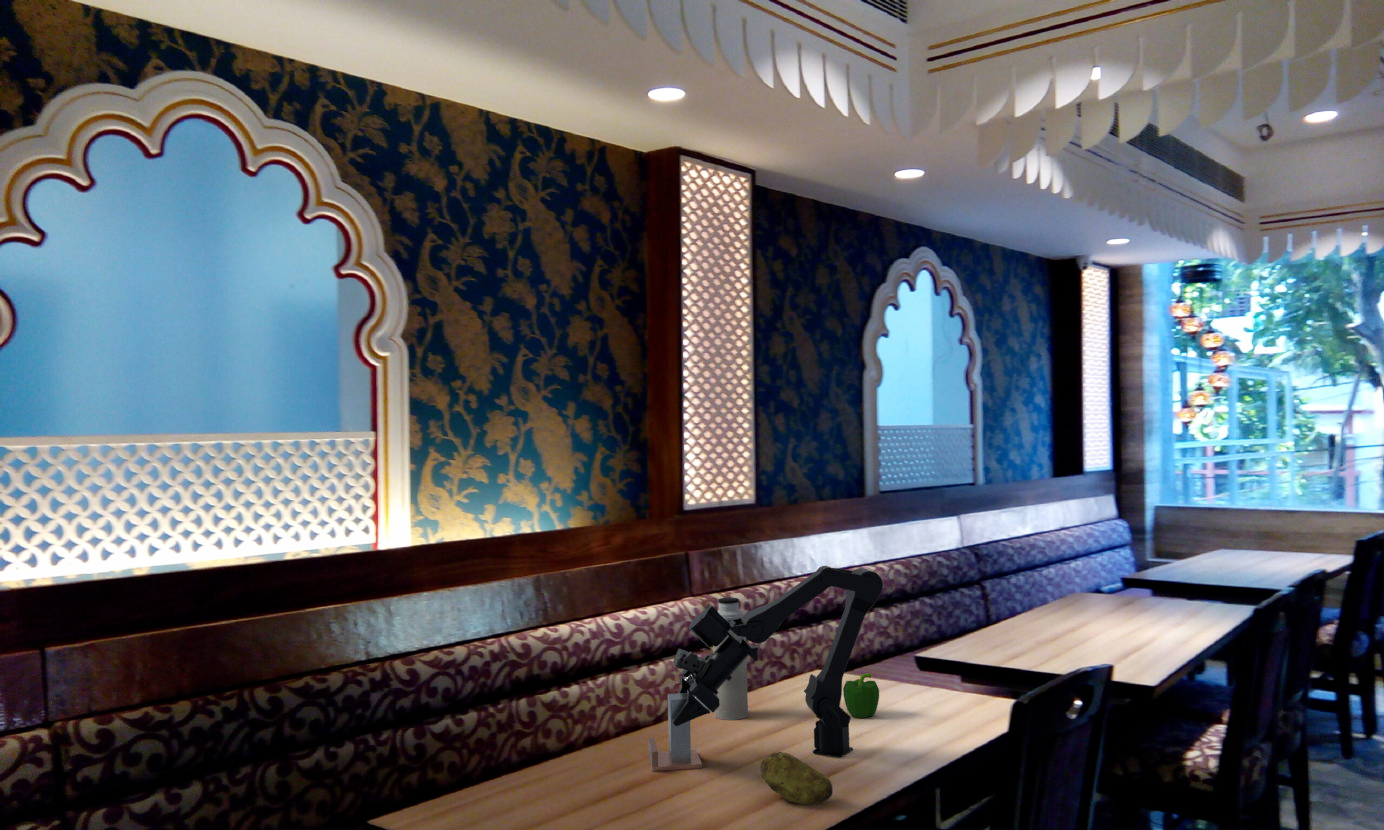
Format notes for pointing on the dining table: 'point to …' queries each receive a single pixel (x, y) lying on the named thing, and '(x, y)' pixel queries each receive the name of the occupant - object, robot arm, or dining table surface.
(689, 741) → the block
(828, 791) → the potato
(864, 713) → the bell pepper
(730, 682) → the thermos bottle
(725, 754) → the dining table surface
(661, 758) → the plate
